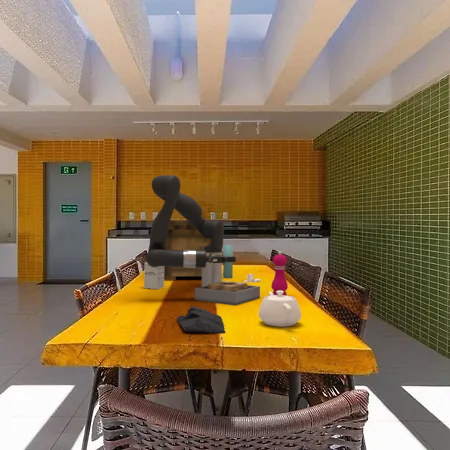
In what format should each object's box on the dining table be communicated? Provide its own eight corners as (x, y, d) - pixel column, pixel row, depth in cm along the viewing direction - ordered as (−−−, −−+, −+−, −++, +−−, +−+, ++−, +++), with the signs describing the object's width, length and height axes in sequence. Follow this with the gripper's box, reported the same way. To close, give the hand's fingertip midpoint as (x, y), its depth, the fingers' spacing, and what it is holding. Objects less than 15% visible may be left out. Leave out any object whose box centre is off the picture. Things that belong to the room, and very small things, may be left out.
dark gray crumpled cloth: (175, 336, 129) (175, 320, 129) (177, 319, 151) (177, 305, 151) (227, 335, 130) (228, 319, 130) (221, 318, 152) (221, 305, 152)
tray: (194, 299, 185) (194, 287, 184) (221, 293, 201) (221, 282, 201) (235, 305, 174) (235, 292, 174) (259, 298, 191) (259, 286, 190)
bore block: (208, 297, 186) (208, 284, 186) (223, 293, 196) (223, 280, 196) (232, 300, 179) (232, 286, 179) (247, 296, 189) (247, 283, 189)
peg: (221, 277, 187) (221, 244, 187) (226, 277, 190) (226, 244, 190) (229, 278, 185) (229, 245, 184) (234, 277, 188) (234, 244, 188)
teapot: (311, 330, 135) (311, 295, 135) (267, 332, 133) (268, 296, 133) (288, 315, 157) (288, 285, 157) (250, 316, 154) (251, 285, 154)
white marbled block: (143, 288, 213) (143, 262, 213) (151, 286, 220) (151, 261, 220) (156, 289, 210) (157, 263, 210) (164, 287, 217) (164, 261, 217)
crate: (222, 281, 242) (223, 221, 241) (158, 281, 238) (158, 220, 238) (217, 273, 277) (217, 221, 276) (160, 273, 273) (161, 220, 272)
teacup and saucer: (262, 282, 242) (262, 274, 242) (252, 283, 236) (253, 276, 236) (250, 280, 248) (250, 273, 248) (240, 282, 242) (240, 274, 242)
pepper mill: (289, 295, 197) (290, 250, 197) (284, 298, 191) (285, 251, 190) (274, 294, 200) (274, 250, 200) (269, 296, 194) (269, 251, 193)
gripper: (195, 251, 178) (237, 251, 181) (193, 248, 192) (232, 249, 195) (195, 269, 178) (237, 269, 181) (193, 265, 193) (232, 266, 195)
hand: (234, 258), depth 188 cm, fingers closed on peg, 4 cm apart
